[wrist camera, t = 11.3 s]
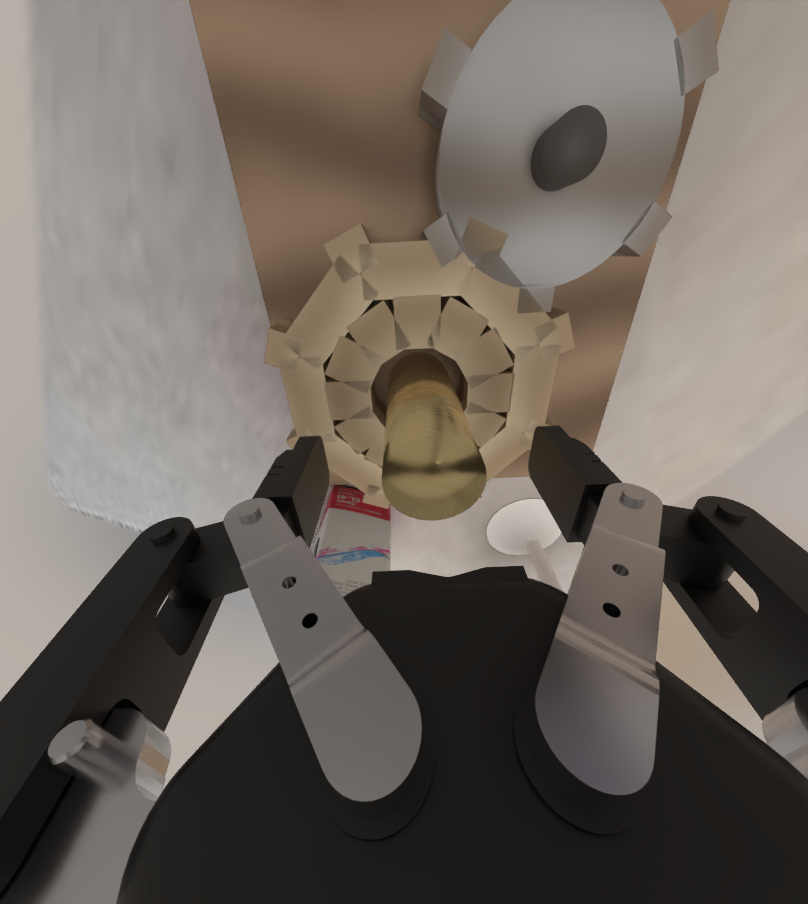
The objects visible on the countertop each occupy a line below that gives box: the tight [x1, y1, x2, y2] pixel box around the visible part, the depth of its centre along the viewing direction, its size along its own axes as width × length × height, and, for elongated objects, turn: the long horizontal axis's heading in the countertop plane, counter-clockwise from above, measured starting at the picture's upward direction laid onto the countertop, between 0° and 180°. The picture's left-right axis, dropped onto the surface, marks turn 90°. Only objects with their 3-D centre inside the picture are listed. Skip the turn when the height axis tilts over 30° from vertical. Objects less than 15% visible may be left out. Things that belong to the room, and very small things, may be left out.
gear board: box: [189, 0, 730, 509], centre depth 16 cm, size 23×20×5 cm
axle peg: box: [381, 352, 487, 520], centre depth 15 cm, size 4×4×10 cm
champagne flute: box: [486, 499, 563, 591], centre depth 18 cm, size 7×7×24 cm
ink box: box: [312, 485, 390, 597], centre depth 22 cm, size 9×5×12 cm, turn 158°
